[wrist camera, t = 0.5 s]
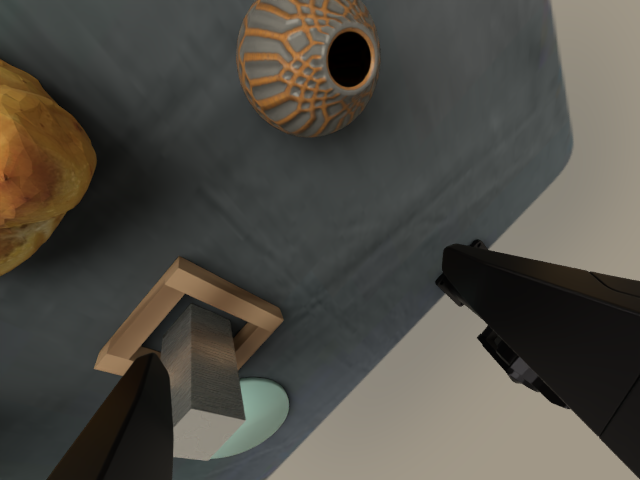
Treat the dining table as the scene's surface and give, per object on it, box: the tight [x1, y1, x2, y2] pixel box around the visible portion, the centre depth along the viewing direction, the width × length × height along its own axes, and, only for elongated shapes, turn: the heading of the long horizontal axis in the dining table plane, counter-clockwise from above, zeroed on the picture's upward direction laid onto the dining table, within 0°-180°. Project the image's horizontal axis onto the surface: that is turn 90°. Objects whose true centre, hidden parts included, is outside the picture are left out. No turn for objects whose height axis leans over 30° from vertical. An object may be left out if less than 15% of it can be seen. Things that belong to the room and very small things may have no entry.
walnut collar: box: [94, 256, 284, 376], centre depth 24 cm, size 10×10×2 cm
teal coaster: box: [211, 377, 289, 458], centre depth 30 cm, size 11×11×1 cm
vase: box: [236, 0, 380, 137], centre depth 15 cm, size 7×7×9 cm
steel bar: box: [160, 303, 246, 461], centre depth 21 cm, size 4×4×9 cm
